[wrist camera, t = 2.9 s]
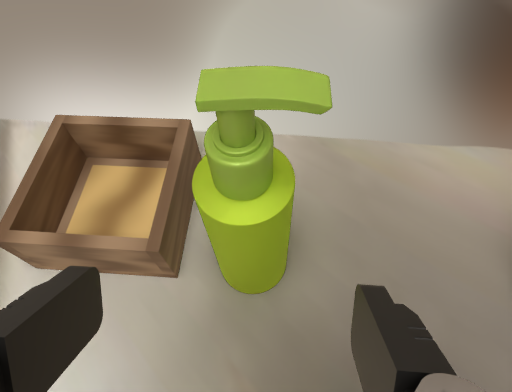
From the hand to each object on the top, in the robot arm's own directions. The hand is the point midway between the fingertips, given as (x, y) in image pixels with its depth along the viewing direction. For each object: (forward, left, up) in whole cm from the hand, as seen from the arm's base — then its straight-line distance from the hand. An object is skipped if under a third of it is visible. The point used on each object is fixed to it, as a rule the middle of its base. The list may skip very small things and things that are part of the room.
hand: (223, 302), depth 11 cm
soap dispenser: (0, -8, -19) cm, 20 cm away
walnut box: (+14, -13, -19) cm, 26 cm away
